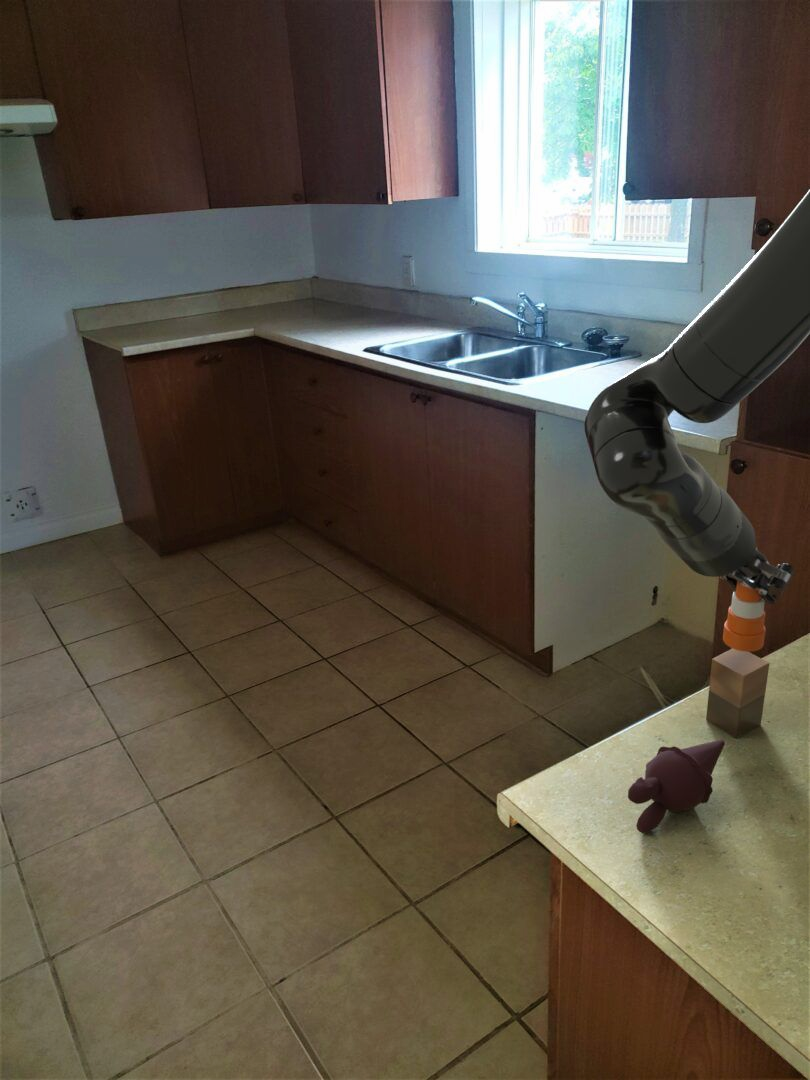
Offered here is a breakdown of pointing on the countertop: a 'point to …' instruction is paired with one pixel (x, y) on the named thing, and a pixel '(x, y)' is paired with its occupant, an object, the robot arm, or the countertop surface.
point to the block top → (738, 677)
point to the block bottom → (734, 715)
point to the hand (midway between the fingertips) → (759, 590)
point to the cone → (745, 620)
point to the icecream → (675, 781)
